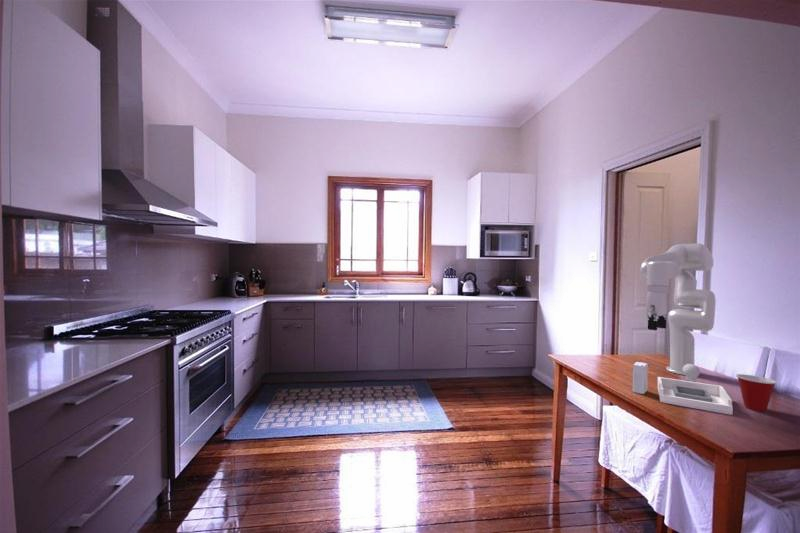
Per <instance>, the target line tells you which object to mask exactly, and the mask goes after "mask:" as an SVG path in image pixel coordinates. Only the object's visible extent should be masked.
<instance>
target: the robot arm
mask: <svg viewBox="0 0 800 533" xmlns="http://www.w3.org/2000/svg"><path fill="white" fill-rule="evenodd" d="M713 267H714V257H713V256H712V254H711V252H710V250H709V249H708V247H707V246H706V245H705V244H703V243H698V242H697V243H695V242H694V243H679V244H678V243H677V244H675V245H672V246H671V247H670V248H669V249H668V250H666V252H663V253H660V254H656V255H652V256H650V257H647V258H646V259H644V261H643V262H642V263H641V265H640V269H639V270H640V275H641V276H642V277H644V278H646V293H647V295H646V302H645V303H646V304H645V314H646V316H647V330H650V331H651V330H652V331H658V329H665V330H666V329H667V322H668V326H669V365H668V366H666V367H665V369H666V371H667V372H670V373H673V374H677V375H681V376H685V374H684V373H683V367H684V366H685V365H687V364H693V365H695V337H694V335H693V333H692V332H691V331H690V330H692V331H693V330H694V331H704V332H710V331H712V330H713V329H714V326H715V316H716V315H715V314H716V313H715V312H716V302H717V300H716V295H715V293H714V291H712V290H709V289H700V288H699V289H697V285H698V284H697V283H698V280H697V278H696V277H695V276H694V274H692V273H691V272H690V271H693V272H694V271H696V272H697V271H698V272H701V271H702V272H705V271H710V270H711V269H712V268H713ZM670 279H674V291H673V302H674V305H675V306H677V307H680V308H675V309H672V310H671V309H670V311H669V312H668V297H667V295H668V294H669V293H670V292H669V289H670V288H669V285H670V282H669V280H670ZM682 308H689V309H682ZM694 309H695V310H694ZM696 309H699V310H696ZM700 309H701V310H700ZM667 313H668V314H667Z"/></svg>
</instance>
